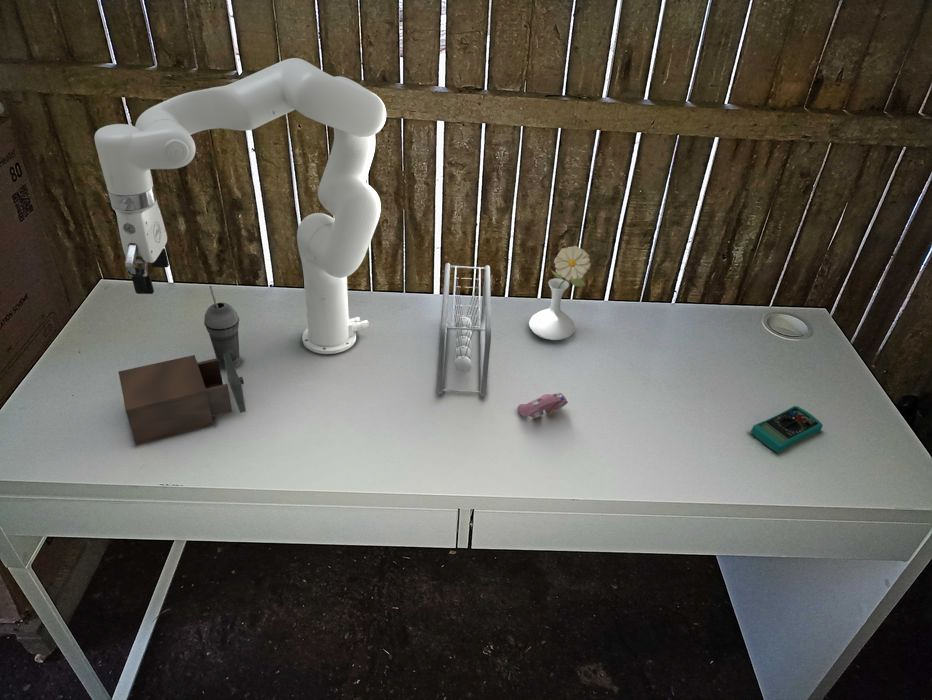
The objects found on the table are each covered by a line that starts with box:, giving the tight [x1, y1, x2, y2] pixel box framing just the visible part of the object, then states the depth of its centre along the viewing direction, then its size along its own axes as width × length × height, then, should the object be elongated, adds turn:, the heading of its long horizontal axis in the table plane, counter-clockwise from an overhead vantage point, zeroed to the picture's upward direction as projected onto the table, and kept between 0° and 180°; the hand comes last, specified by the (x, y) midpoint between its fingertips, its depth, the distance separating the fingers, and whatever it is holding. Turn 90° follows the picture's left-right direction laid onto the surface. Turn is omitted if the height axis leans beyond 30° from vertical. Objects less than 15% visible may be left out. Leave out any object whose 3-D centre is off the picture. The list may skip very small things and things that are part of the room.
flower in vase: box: [528, 245, 591, 341], centre depth 171 cm, size 13×11×25 cm
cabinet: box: [118, 354, 214, 446], centre depth 144 cm, size 15×13×9 cm
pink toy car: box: [517, 392, 569, 419], centre depth 152 cm, size 10×5×7 cm, turn 118°
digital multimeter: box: [750, 405, 824, 454], centre depth 152 cm, size 7×15×3 cm, turn 122°
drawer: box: [197, 353, 247, 417], centre depth 147 cm, size 15×11×7 cm
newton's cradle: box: [436, 262, 492, 398], centre depth 163 cm, size 30×10×18 cm, turn 179°
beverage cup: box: [203, 285, 241, 370], centre depth 155 cm, size 7×7×20 cm
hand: (153, 279), depth 138 cm, fingers open, 9 cm apart
